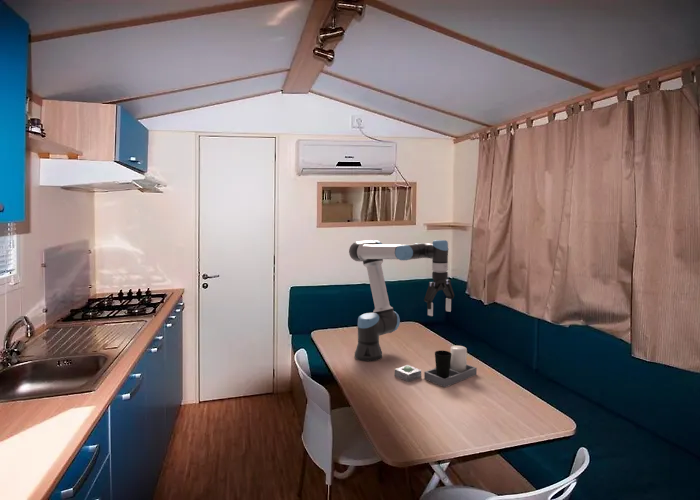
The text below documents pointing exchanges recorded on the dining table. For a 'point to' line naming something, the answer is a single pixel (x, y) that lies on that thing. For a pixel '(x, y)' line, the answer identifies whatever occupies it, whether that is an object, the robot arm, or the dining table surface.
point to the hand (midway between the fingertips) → (439, 313)
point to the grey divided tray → (450, 376)
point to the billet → (458, 358)
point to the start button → (407, 369)
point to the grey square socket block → (407, 373)
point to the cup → (442, 363)
